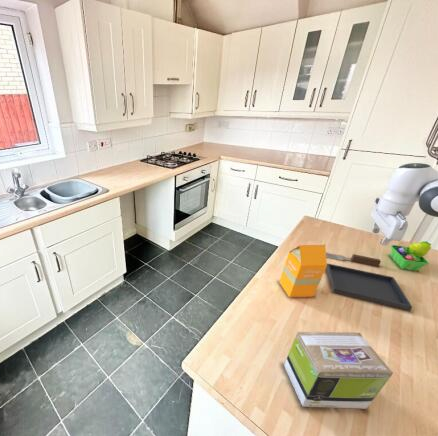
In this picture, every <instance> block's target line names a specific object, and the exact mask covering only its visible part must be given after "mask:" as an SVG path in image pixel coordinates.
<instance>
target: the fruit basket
mask: <svg viewBox="0 0 438 436" xmlns="http://www.w3.org/2000/svg"><path fill="white" fill-rule="evenodd" d="M431 245H432V244H431V243H429V242H428V241H427V240H424V241H420V242H414V243H411V244H409V246H403V245H396V244H391V245H390V255H389V256H390V258H392V260H393V261H394V262H395V263H396V264H397V265H398V266H399V268H401V269H402V270H409V271H415V272H417V271H419V270H420V269H421V268H424V266H426V265H428V264H430V263H429V261H428V260H427V259H425V258H424V257H425V256H427V254H428V253H429V252H430V250H431V249H432V246H431Z"/></svg>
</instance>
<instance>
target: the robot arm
mask: <svg viewBox="0 0 438 436" xmlns="http://www.w3.org/2000/svg"><path fill="white" fill-rule="evenodd" d="M416 202H418V207H419V209H420V210H421V211H422V213H425V214H426V215H428V216H431V217H434V218H438V170H437V169H435V168H434V167H432V165H430V164H427V163H421V162H411V163H405V164H402V165H399V167H397V168H396V169H395V170H394V172H393V173H392V175H391V177H390V179H389V181H388V183H387V185H386V190H385V192H384V193H383V194H382V196H376V197H375V199H374V204H373V207H372V209H371V212H370V219H372V221H373V225H372V229H371V232H372V233H373V234H379V233H380V232H382V233H383V235H384V238H383V239H381V240H380V242H379V243H380V245H381V246H385V247H386V246H388V245H389V243H390V242H392V241H396V242H401V241H402V240H403V239H404V237H405V234H406V232H407V229H408V227H409V223H408V220H407V217H408V216H409V215H410V213H411V212H412V210H413V208H414V206H415V204H416Z"/></svg>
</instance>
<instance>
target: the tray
mask: <svg viewBox="0 0 438 436" xmlns="http://www.w3.org/2000/svg"><path fill="white" fill-rule="evenodd" d="M325 271H326V274H327V278H328V280H329V284H330V287H331V290H332V293H334V294H337V295H342V296H346V297H350V298H353V299H358V300H361V301H367V302H370V303H375V304H379V305H382V306H386V307H391V308H394V309H398V310H402V311H407V312H410V311H411V310H412V308H413V306H412V304H411V302H410V301H409V300H408V298H407V296H406V295H405V293H404V292H403V290H402V289H401V287H400V285H399V284H398V282H397V281H396V279H395V278H394V277H393V276H390V275H385V274H380V273H376V272H371V271H366V270H365V271H364V270H361V269H356V268H351V267H346V266H341V265H337V264H333V263H328V262H327V267H326V269H325Z"/></svg>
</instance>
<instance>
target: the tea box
mask: <svg viewBox="0 0 438 436" xmlns="http://www.w3.org/2000/svg"><path fill="white" fill-rule="evenodd" d="M283 367H284V370H285V371H286V373H287V375H288V378H289V380H290V383H291V385H292V386H293V389H294V391H295V393H296V396H297V398H298V400H299V402H300V404H301V405H302V407H308V408H336V409H362V410H363V409H368V408H369V406H370V405H371V403H372V402H373V400H374V399H375V398H376V397H377V396H378V394H379V393H380V392H381V391H382V389H383V388H384V386H385V385H386V383H388V381H389V379H390V378H391V377H392V375H393V374H394V372H393V371H392V370H391V369H390V367H389V366H388V365H387V364H386V362H384V361H383V359H382V358H381V357H380V356H379V355H378V353H377V352H376V351H375V350H374V349H373V347H372V346H371V345H370V344H369V342H368V341H367V340H366V339H365V338H364V337H363V335H362V334H361V332H354V331H353V332H351V331H297V333H296V335H295V337H294V339H293V342H292V345H291V348H290V350H289V352H288V354H287V357H286V359H285V362H284V366H283Z"/></svg>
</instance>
